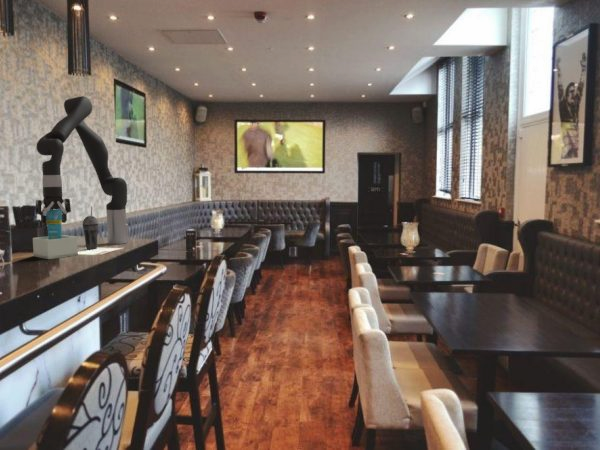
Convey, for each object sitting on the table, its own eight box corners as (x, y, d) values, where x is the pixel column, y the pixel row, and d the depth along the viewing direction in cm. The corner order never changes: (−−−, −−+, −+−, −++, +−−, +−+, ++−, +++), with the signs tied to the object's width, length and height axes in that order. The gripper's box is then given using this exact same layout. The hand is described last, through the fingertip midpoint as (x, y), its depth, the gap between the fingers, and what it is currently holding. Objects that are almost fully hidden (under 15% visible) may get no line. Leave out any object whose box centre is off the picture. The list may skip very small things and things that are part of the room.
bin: (62, 252, 244) (61, 235, 243) (78, 255, 236) (77, 237, 235) (33, 256, 233) (32, 237, 233) (48, 259, 225) (47, 240, 225)
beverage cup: (80, 249, 254) (77, 206, 252) (92, 247, 260) (90, 205, 258) (90, 250, 250) (88, 207, 248) (103, 248, 257) (101, 206, 255)
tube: (45, 254, 232) (42, 209, 229) (49, 252, 237) (46, 208, 234) (63, 254, 233) (60, 209, 230) (66, 252, 237) (64, 208, 235)
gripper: (63, 185, 239) (65, 221, 241) (31, 186, 228) (33, 224, 230) (72, 185, 235) (74, 222, 236) (40, 186, 224) (42, 225, 225)
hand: (54, 223), depth 233 cm, fingers open, 8 cm apart
